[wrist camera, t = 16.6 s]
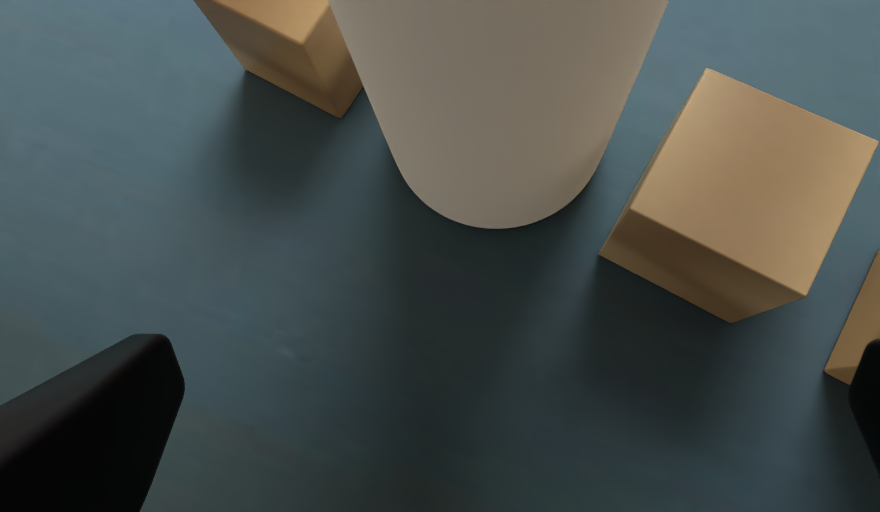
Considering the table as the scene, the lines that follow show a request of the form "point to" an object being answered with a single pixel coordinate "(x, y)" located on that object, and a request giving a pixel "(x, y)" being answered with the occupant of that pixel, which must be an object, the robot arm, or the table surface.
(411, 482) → the table surface
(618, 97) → the can
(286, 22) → the block
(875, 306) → the block
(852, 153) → the block
